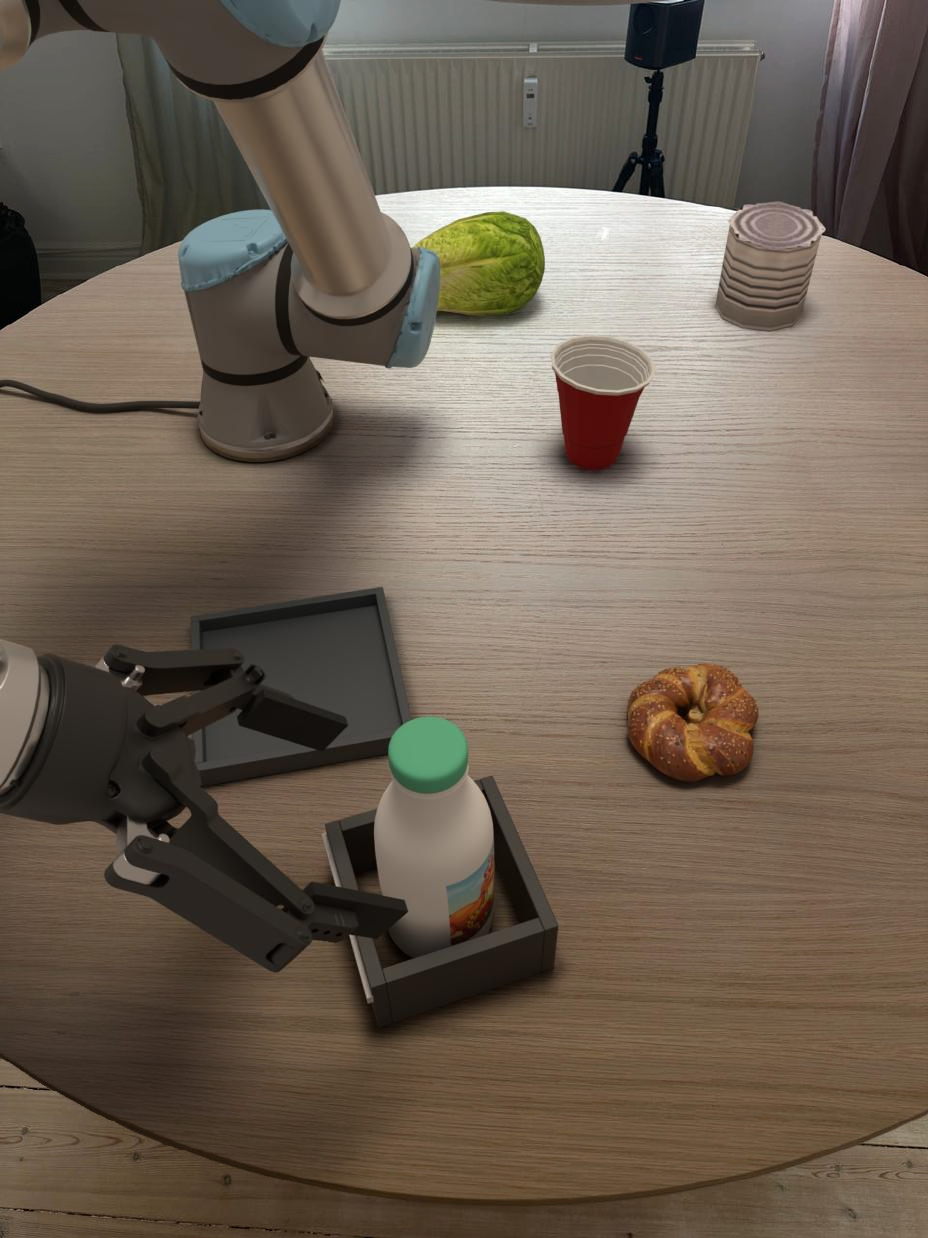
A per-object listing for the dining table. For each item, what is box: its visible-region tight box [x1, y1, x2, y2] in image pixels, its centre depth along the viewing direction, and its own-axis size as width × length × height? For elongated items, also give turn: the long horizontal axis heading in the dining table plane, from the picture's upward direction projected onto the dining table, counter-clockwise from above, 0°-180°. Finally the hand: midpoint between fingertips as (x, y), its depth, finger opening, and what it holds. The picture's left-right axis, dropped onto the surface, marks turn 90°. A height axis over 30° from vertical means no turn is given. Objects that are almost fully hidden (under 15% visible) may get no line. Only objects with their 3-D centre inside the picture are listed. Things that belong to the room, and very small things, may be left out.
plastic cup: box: [550, 334, 657, 471], centre depth 104 cm, size 11×11×12 cm
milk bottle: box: [374, 716, 495, 959], centre depth 63 cm, size 8×8×20 cm
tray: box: [189, 586, 413, 787], centre depth 85 cm, size 18×18×2 cm
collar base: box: [321, 775, 559, 1028], centre depth 68 cm, size 13×13×6 cm
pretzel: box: [626, 662, 760, 782], centre depth 80 cm, size 12×11×4 cm
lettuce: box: [411, 210, 546, 317], centre depth 129 cm, size 13×22×14 cm
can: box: [714, 200, 827, 332], centre depth 127 cm, size 11×11×12 cm
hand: (360, 820), depth 59 cm, fingers open, 13 cm apart
